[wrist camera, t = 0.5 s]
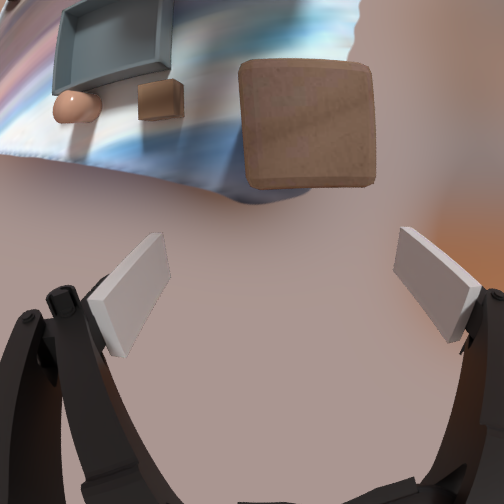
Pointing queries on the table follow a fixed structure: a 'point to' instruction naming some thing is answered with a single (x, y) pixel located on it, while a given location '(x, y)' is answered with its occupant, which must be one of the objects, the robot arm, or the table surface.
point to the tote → (111, 42)
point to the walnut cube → (160, 100)
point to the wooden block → (307, 123)
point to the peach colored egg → (76, 107)
